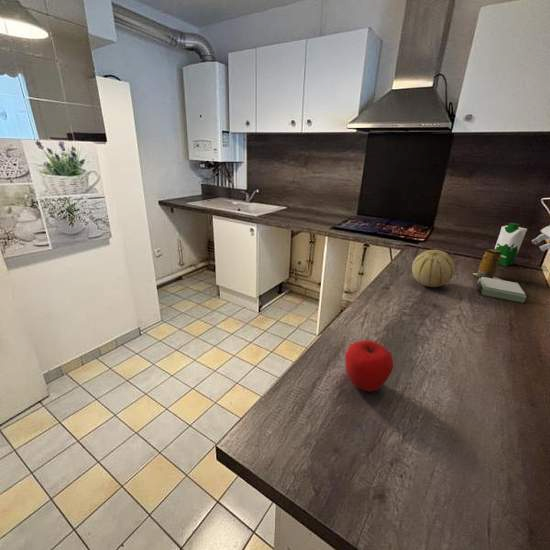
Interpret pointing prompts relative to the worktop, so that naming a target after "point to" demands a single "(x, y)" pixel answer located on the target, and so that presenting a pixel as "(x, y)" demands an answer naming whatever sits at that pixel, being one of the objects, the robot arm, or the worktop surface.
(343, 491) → the worktop surface
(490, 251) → the condiment
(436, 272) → the cantaloupe
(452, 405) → the worktop surface
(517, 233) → the milk carton
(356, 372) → the apple
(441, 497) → the worktop surface
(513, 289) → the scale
